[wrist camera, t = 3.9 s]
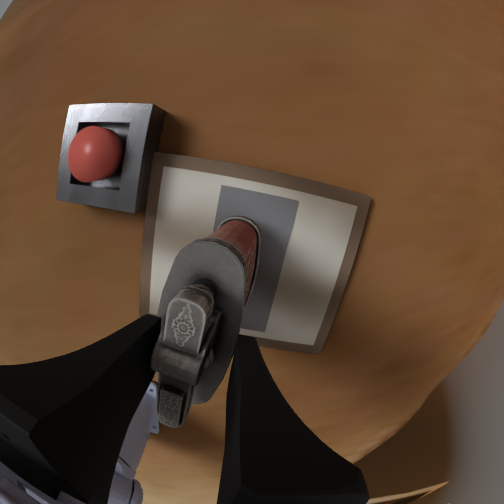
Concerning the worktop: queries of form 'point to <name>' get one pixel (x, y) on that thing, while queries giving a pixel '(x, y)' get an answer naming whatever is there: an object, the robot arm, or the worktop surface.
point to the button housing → (133, 160)
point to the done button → (95, 154)
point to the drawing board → (272, 243)
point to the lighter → (203, 315)
